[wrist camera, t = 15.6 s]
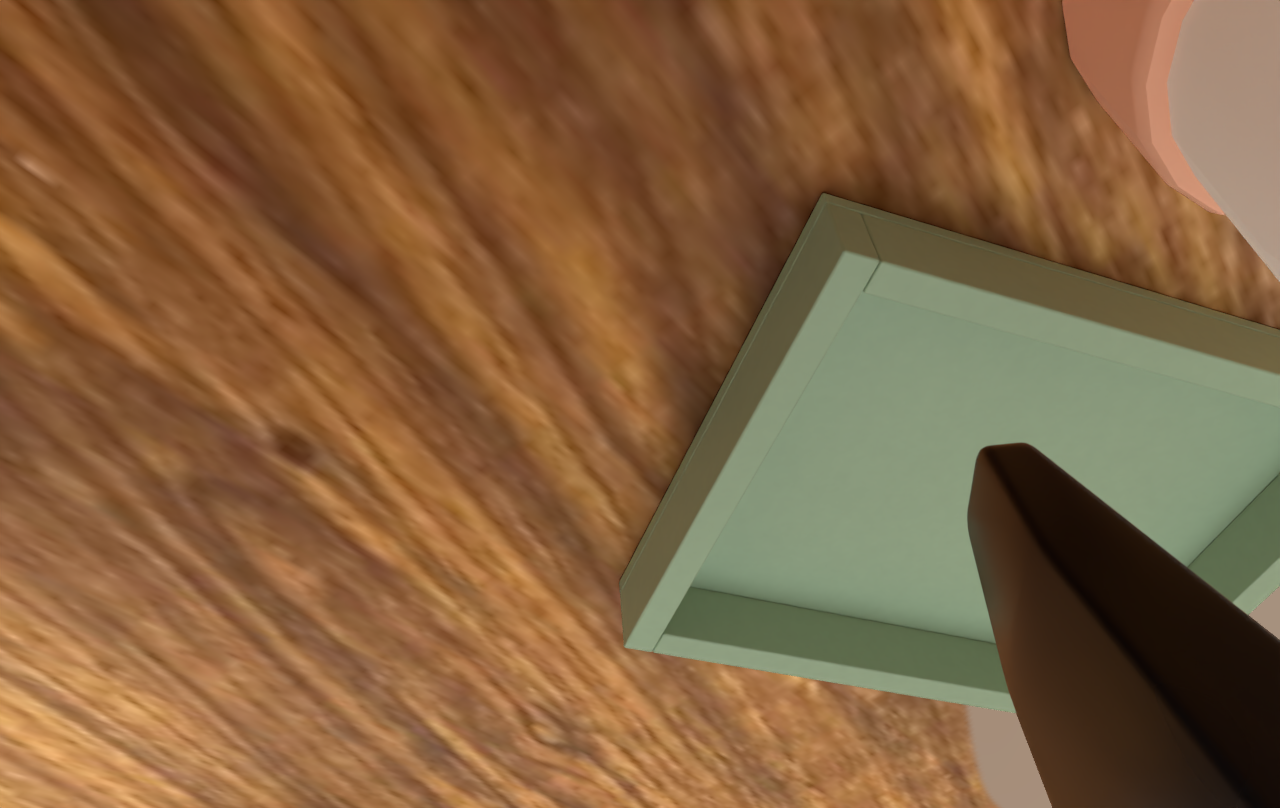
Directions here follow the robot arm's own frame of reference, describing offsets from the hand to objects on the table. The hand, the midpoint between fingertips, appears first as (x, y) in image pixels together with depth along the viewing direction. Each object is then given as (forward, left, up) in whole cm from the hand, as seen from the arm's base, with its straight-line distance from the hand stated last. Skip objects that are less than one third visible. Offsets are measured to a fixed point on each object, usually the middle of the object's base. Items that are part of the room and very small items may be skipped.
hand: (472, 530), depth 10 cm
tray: (+5, -16, -13) cm, 22 cm away
